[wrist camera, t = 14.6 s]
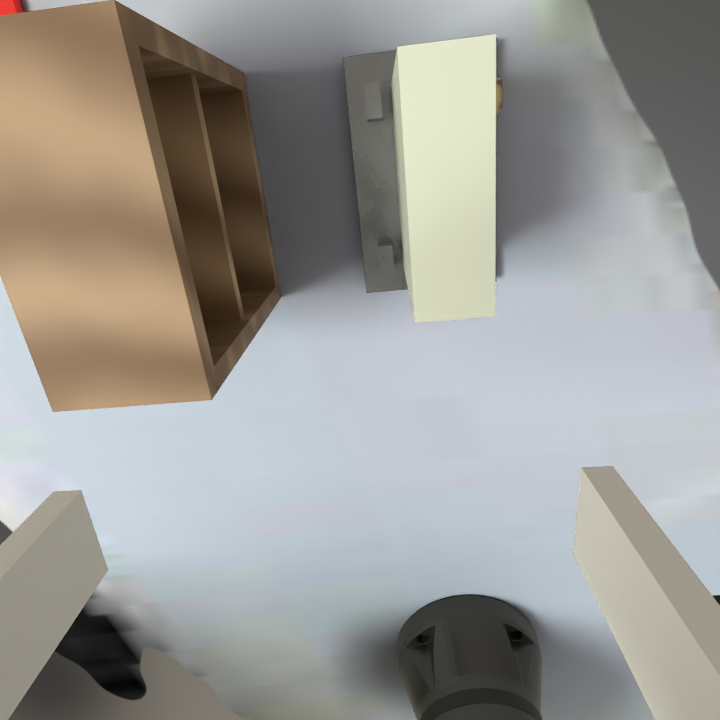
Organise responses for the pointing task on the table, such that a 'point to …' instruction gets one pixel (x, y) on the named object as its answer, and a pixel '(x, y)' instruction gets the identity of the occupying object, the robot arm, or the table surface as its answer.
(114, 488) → the table surface
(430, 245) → the door panel
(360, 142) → the grey pegged base plate
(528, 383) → the table surface
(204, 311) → the cabinet
